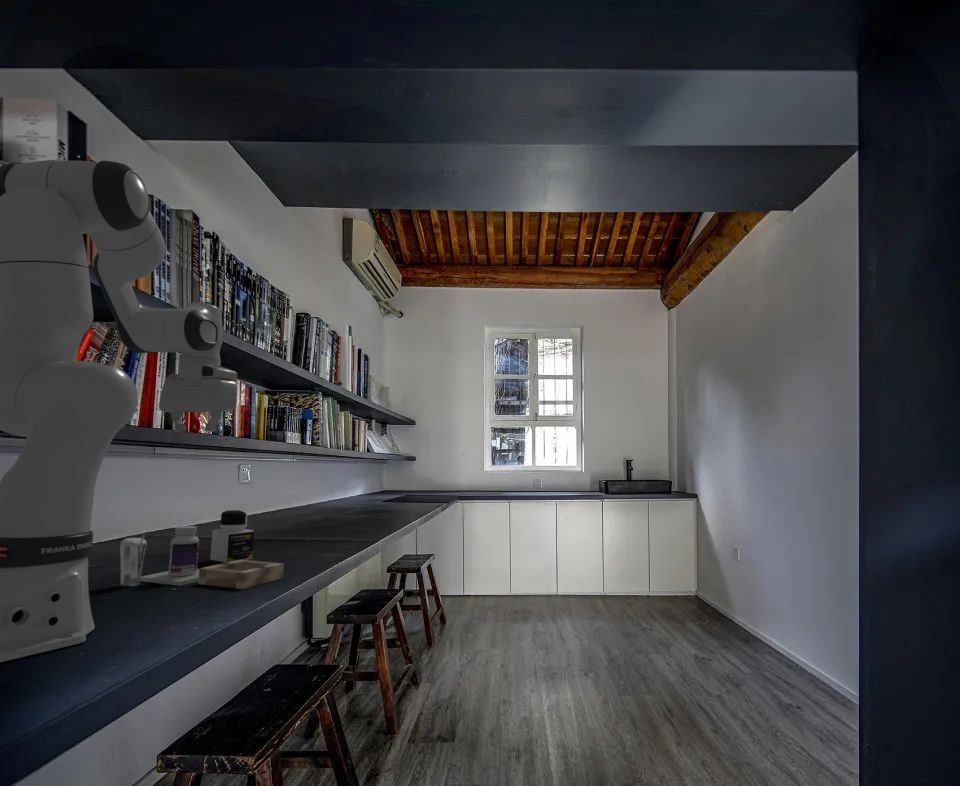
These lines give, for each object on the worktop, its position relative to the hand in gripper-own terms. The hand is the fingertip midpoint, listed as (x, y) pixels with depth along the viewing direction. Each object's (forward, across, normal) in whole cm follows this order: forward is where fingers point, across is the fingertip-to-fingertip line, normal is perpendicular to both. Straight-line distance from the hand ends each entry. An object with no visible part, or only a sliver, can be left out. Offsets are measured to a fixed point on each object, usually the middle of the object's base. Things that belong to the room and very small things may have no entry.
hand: (194, 431), depth 132 cm
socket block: (+31, +20, -4) cm, 37 cm away
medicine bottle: (+31, 0, +14) cm, 34 cm away
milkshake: (+31, +4, -16) cm, 35 cm away
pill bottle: (+30, +7, -7) cm, 32 cm away
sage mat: (+31, +7, -7) cm, 33 cm away
